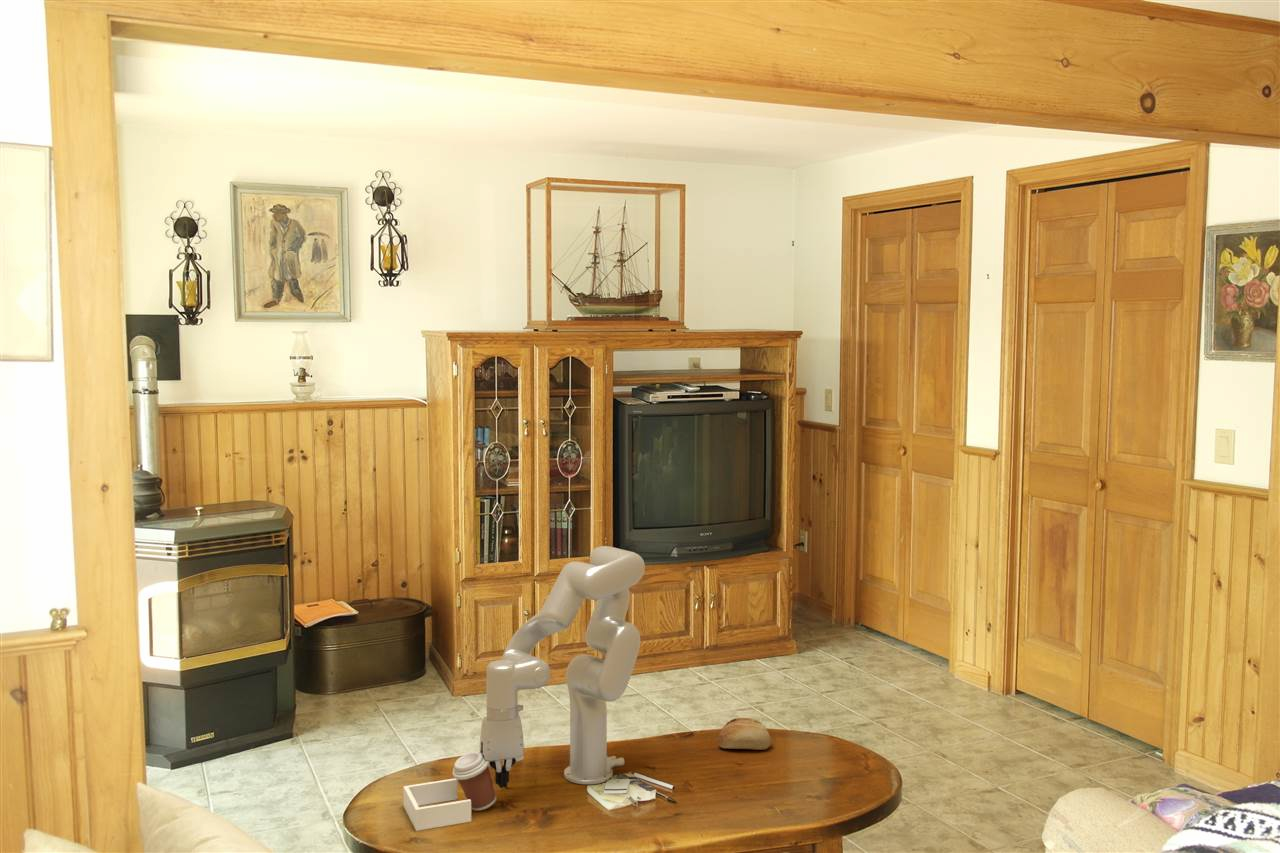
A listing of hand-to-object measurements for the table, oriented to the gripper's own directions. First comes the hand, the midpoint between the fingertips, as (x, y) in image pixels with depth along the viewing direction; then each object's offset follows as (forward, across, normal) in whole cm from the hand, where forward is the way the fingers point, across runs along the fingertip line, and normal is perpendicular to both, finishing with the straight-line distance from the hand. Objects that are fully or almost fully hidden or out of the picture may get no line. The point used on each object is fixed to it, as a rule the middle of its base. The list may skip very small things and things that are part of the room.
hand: (502, 785), depth 269 cm
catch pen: (+5, +16, 0) cm, 17 cm away
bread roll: (+4, -73, -9) cm, 73 cm away
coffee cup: (+4, +4, 0) cm, 6 cm away
